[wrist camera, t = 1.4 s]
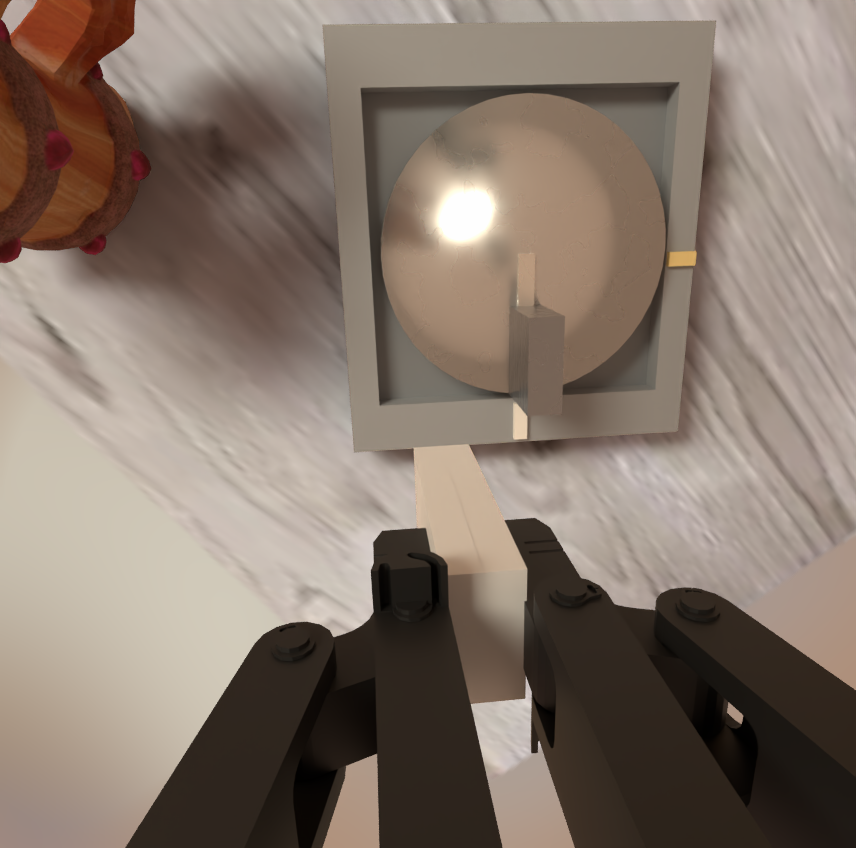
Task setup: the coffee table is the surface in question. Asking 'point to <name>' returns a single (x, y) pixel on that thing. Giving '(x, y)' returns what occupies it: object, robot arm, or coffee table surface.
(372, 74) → the board
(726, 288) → the coffee table surface
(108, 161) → the mug
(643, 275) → the dial
